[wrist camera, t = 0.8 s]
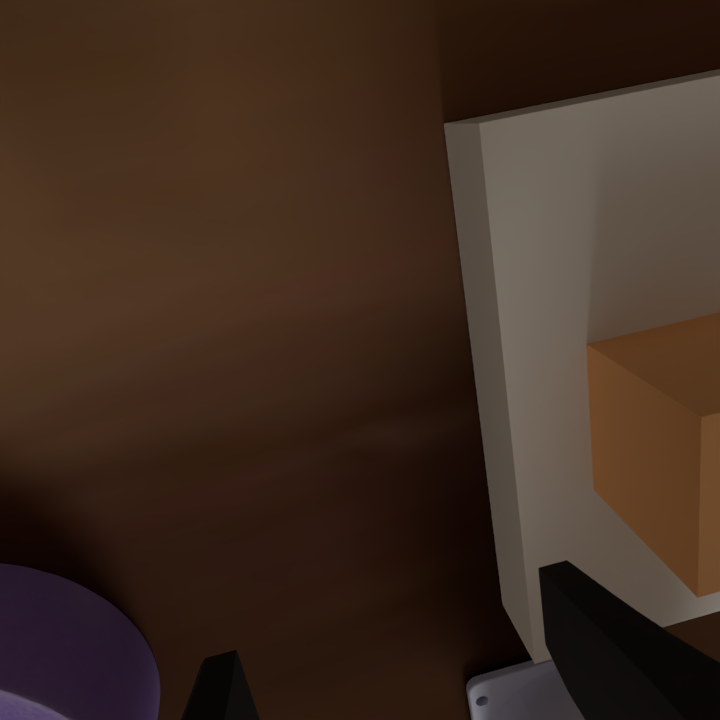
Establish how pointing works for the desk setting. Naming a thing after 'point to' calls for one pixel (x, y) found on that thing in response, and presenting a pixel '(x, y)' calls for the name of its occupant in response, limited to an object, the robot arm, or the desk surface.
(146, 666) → the tape roll
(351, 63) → the desk surface
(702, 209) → the box
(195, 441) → the desk surface
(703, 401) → the orange block
